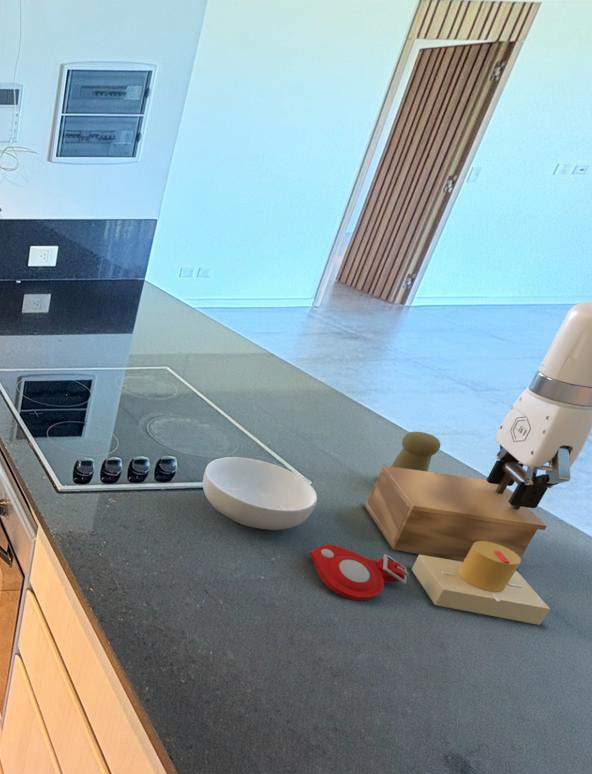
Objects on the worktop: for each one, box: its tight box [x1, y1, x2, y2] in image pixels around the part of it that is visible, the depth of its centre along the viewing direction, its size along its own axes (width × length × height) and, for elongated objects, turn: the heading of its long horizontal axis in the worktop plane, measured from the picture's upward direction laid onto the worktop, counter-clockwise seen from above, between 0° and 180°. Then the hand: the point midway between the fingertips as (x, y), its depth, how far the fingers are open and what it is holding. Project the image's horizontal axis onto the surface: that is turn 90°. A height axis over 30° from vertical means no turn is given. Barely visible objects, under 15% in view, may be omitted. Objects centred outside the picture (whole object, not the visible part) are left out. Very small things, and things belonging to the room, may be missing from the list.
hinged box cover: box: [381, 462, 548, 531], centre depth 97 cm, size 16×13×6 cm
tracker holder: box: [308, 544, 410, 601], centre depth 93 cm, size 12×4×10 cm
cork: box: [391, 431, 441, 472], centre depth 113 cm, size 6×6×11 cm
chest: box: [364, 469, 538, 562], centre depth 101 cm, size 16×13×8 cm
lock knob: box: [459, 541, 522, 592], centre depth 87 cm, size 5×5×5 cm
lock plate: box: [411, 554, 551, 626], centre depth 89 cm, size 12×9×3 cm
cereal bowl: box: [202, 456, 318, 531], centre depth 106 cm, size 17×17×7 cm
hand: (510, 493), depth 96 cm, fingers closed on hinged box cover, 5 cm apart
